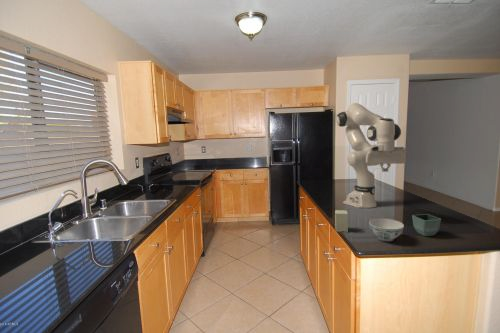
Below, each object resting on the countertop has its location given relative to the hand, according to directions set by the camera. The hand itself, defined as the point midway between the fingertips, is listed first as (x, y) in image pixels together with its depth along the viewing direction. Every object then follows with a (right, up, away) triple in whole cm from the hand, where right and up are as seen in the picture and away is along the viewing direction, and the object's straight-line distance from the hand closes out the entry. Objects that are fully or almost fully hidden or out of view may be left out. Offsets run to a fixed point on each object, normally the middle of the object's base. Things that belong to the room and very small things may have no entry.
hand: (385, 171), depth 145 cm
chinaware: (-11, -33, -21) cm, 40 cm away
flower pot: (+11, -31, -18) cm, 38 cm away
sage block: (-27, -32, -7) cm, 42 cm away
